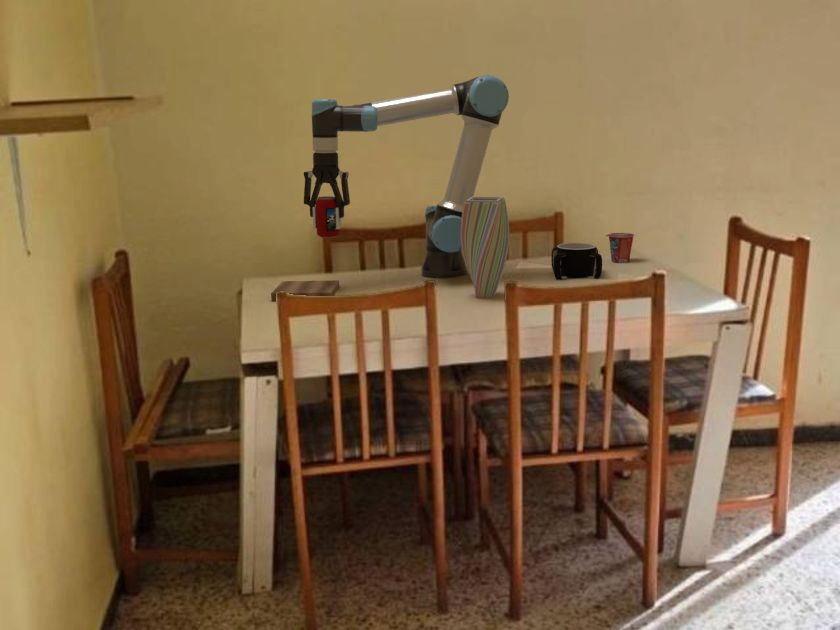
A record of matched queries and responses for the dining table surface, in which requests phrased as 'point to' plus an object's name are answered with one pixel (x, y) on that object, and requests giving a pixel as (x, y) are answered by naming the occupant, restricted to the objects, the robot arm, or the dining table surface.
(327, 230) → the beverage can
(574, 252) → the black round container
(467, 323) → the dining table surface
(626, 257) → the cup
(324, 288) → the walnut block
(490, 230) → the vase
